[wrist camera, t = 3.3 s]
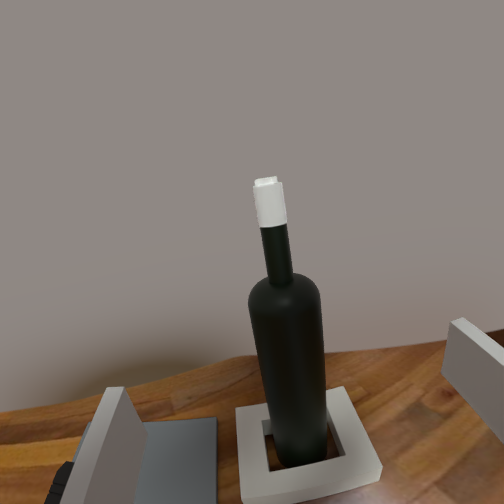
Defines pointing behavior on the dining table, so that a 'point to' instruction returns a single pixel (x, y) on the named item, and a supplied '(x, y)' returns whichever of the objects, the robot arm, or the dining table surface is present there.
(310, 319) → the wine bottle
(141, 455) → the robot arm
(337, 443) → the frame
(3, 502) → the dining table surface
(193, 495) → the coaster mat
